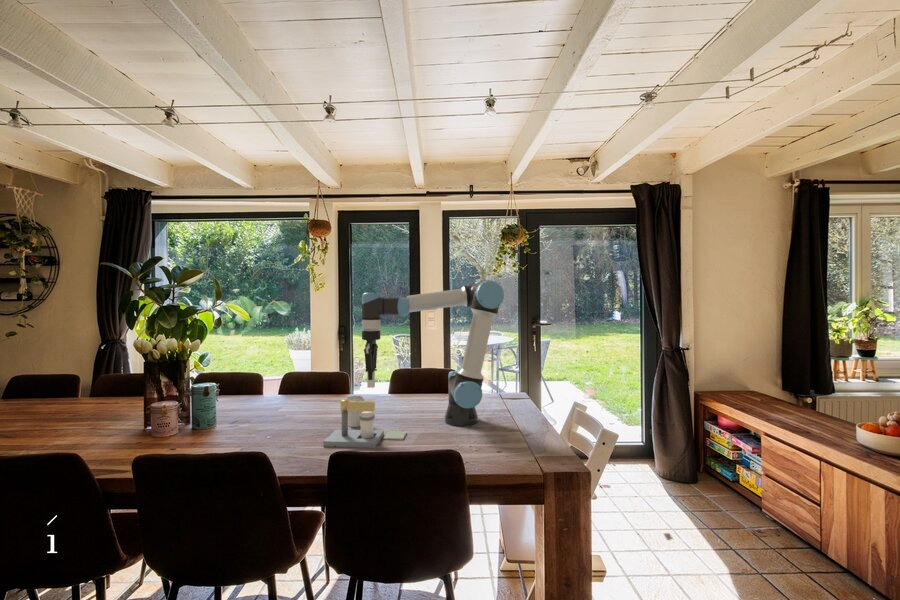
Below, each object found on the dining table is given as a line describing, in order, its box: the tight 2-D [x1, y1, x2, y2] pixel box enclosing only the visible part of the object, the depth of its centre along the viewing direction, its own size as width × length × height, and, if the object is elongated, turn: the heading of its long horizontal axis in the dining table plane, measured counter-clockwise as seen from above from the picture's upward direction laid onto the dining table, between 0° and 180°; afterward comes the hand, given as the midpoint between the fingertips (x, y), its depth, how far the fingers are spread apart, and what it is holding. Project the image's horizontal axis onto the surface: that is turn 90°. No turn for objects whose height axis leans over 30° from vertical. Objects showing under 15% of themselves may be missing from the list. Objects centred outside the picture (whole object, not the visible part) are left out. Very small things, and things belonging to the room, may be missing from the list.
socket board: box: [322, 411, 385, 449], centre depth 161 cm, size 20×14×12 cm
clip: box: [339, 398, 376, 412], centre depth 161 cm, size 14×3×4 cm, turn 86°
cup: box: [345, 395, 365, 428], centre depth 182 cm, size 8×8×12 cm
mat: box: [382, 430, 407, 441], centre depth 166 cm, size 8×8×1 cm
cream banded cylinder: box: [359, 411, 376, 439], centre depth 161 cm, size 6×6×11 cm
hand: (371, 387), depth 168 cm, fingers closed
